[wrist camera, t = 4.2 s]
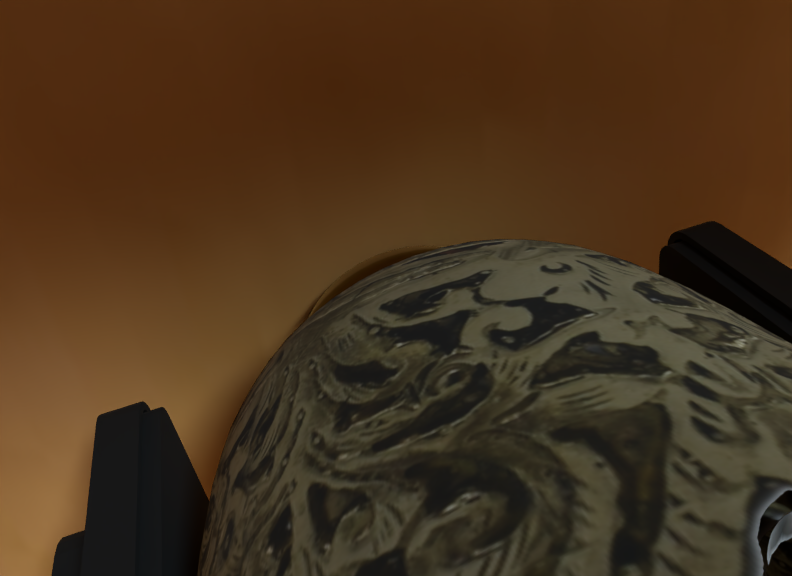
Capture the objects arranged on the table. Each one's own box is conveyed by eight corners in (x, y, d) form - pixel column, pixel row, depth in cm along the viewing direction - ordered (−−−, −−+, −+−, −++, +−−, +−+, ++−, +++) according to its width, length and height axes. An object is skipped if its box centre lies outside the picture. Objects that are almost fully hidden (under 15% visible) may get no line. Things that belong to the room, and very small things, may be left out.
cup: (460, 541, 14) (723, 1126, 8) (74, 456, 11) (-48, 1375, 4) (698, 221, 12) (1366, 663, 5) (305, -11, 9) (806, 404, 2)
